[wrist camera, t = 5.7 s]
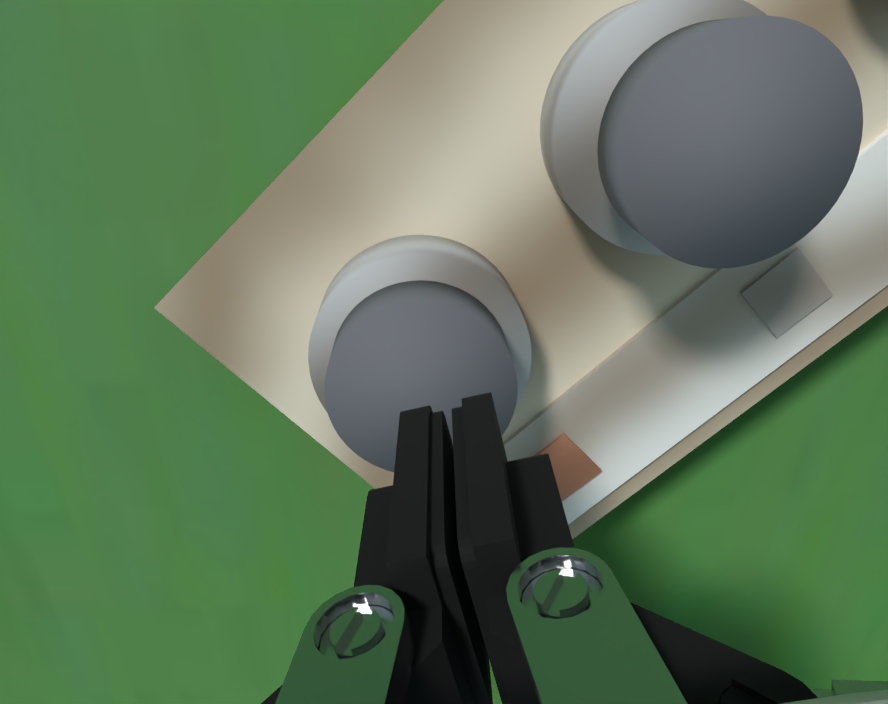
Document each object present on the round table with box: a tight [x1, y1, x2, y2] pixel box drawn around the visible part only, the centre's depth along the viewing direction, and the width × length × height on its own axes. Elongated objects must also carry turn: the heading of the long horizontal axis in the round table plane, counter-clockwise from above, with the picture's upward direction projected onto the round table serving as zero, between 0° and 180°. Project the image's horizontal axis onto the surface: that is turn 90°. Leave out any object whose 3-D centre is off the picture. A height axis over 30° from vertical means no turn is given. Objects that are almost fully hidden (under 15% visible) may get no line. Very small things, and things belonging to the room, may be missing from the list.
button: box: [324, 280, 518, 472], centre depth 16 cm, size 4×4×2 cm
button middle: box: [597, 16, 863, 269], centre depth 13 cm, size 4×4×2 cm
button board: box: [154, 0, 888, 539], centre depth 18 cm, size 14×25×5 cm, turn 134°
